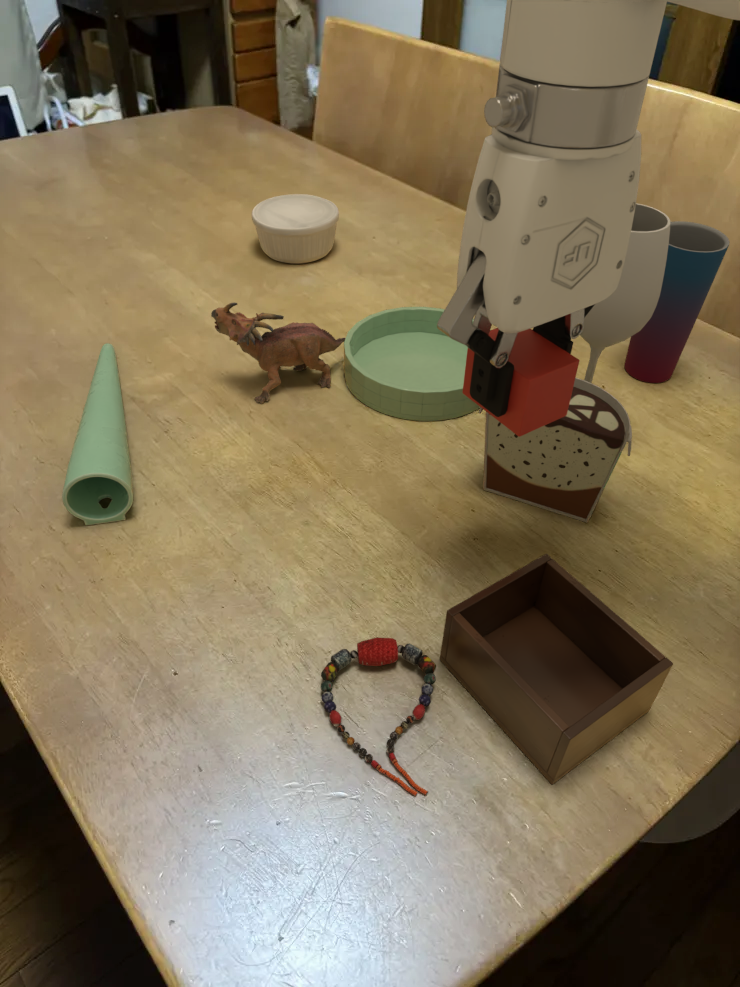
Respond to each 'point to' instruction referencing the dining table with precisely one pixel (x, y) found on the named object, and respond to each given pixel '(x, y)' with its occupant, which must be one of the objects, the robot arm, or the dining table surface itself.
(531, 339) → the block
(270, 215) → the ramekin
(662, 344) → the cup
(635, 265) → the wineglass
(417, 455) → the dining table surface
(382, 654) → the necklace
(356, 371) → the bowl
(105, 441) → the mint green cone
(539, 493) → the cake cutout
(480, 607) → the box
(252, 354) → the dinosaur figurine
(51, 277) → the dining table surface
